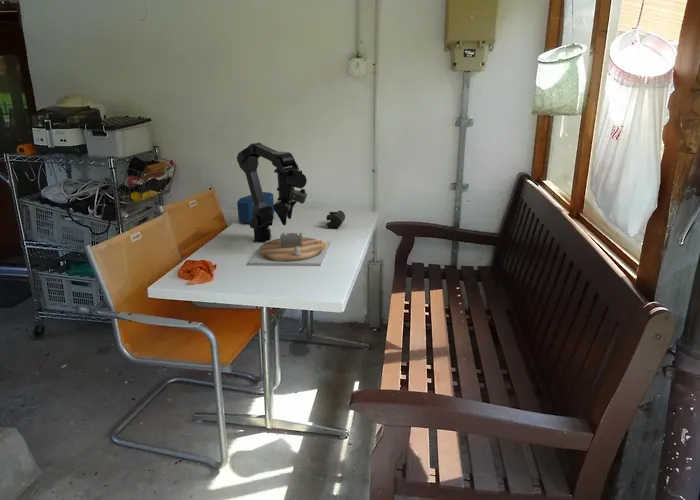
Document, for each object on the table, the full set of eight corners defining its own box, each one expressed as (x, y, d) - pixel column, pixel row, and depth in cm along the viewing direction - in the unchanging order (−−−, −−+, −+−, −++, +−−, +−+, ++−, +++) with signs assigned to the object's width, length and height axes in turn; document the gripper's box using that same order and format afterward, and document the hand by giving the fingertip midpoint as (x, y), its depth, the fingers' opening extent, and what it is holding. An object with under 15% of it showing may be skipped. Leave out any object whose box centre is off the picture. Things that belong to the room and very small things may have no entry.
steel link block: (281, 247, 218) (280, 234, 217) (283, 244, 222) (282, 232, 220) (300, 247, 218) (299, 234, 216) (302, 244, 221) (301, 232, 220)
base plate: (248, 265, 209) (247, 255, 208) (266, 242, 236) (266, 234, 234) (320, 265, 206) (320, 255, 205) (330, 243, 233) (330, 234, 231)
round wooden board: (256, 245, 228) (255, 234, 227) (314, 238, 235) (313, 227, 234) (266, 264, 205) (265, 252, 204) (329, 256, 212) (329, 244, 211)
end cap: (341, 229, 252) (341, 215, 250) (326, 229, 253) (326, 215, 251) (345, 223, 261) (345, 210, 259) (331, 223, 262) (330, 210, 260)
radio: (262, 213, 285) (259, 175, 278) (276, 215, 281) (273, 176, 274) (236, 223, 267) (232, 183, 261) (251, 225, 263) (247, 184, 257)
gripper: (300, 190, 209) (301, 229, 214) (309, 179, 226) (310, 216, 231) (271, 189, 210) (274, 228, 215) (283, 179, 227) (285, 215, 232)
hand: (287, 221), depth 223 cm, fingers open, 9 cm apart
